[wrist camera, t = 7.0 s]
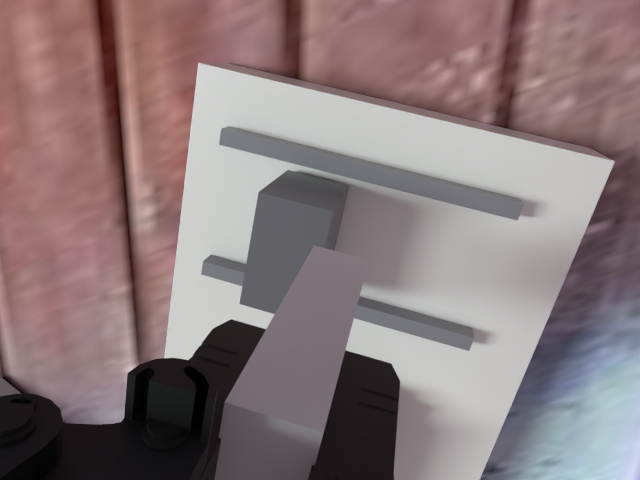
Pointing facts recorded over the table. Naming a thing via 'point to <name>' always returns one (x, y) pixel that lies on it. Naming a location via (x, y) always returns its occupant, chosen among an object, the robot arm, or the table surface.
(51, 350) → the table surface
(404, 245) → the switch panel
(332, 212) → the slide switch
